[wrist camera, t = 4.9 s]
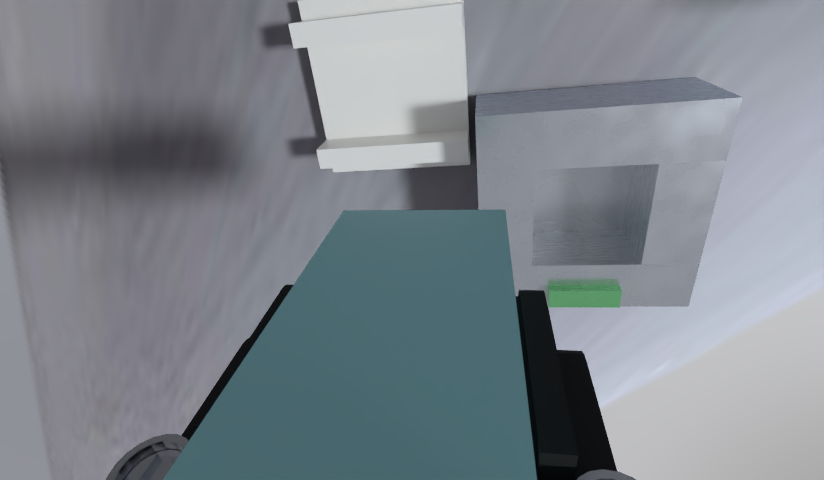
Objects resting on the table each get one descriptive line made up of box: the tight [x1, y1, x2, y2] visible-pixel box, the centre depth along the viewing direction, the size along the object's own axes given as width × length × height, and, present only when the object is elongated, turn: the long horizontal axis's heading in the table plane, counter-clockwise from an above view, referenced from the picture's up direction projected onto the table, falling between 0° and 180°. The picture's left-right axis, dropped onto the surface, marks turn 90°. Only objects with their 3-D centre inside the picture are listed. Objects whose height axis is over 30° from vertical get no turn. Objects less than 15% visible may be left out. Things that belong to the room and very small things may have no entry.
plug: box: [163, 210, 537, 480], centre depth 8 cm, size 4×4×11 cm
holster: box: [288, 0, 471, 172], centre depth 25 cm, size 10×9×3 cm
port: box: [475, 77, 743, 307], centre depth 26 cm, size 12×12×6 cm
